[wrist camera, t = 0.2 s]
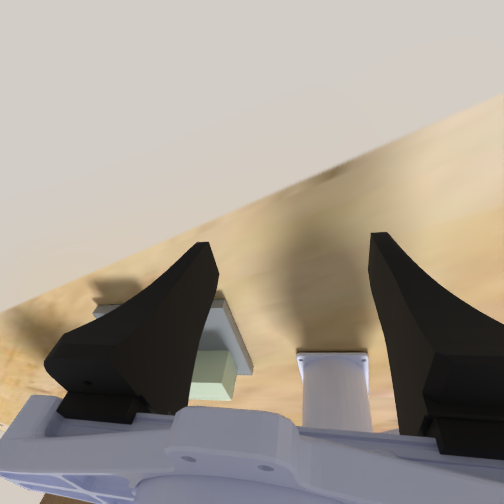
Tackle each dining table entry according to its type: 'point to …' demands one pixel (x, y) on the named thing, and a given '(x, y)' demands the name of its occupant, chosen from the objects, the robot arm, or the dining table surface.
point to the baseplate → (214, 334)
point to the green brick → (213, 376)
